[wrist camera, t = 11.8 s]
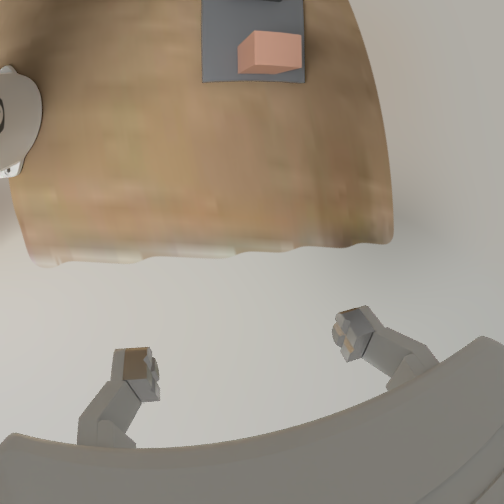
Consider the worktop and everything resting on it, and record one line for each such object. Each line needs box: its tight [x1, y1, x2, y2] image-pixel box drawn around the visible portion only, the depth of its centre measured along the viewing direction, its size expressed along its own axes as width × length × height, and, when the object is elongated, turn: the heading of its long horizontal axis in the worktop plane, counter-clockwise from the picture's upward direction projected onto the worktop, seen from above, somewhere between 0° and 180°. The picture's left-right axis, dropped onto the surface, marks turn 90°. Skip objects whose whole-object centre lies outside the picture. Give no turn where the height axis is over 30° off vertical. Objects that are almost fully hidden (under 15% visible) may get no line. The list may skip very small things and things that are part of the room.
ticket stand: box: [201, 0, 305, 83], centre depth 24 cm, size 14×22×5 cm, turn 1°
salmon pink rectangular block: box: [237, 30, 302, 74], centre depth 25 cm, size 5×4×9 cm
